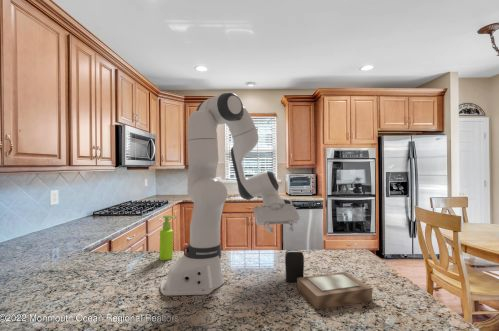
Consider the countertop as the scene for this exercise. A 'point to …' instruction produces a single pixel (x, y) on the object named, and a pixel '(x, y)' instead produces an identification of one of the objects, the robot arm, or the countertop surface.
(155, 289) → the countertop surface
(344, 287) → the brown flat rectangular block
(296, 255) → the battery charger
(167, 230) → the soap dispenser
